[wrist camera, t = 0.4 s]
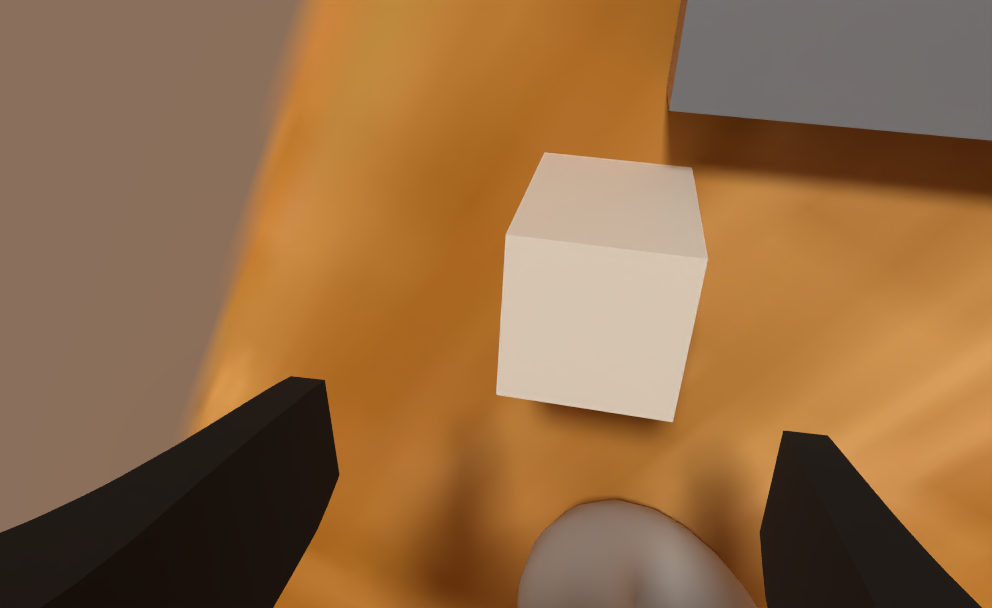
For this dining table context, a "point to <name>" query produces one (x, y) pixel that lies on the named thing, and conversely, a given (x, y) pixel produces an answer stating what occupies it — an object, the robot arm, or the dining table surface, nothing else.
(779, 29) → the tile
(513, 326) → the block
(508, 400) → the dining table surface
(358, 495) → the dining table surface
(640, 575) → the donut
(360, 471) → the dining table surface
